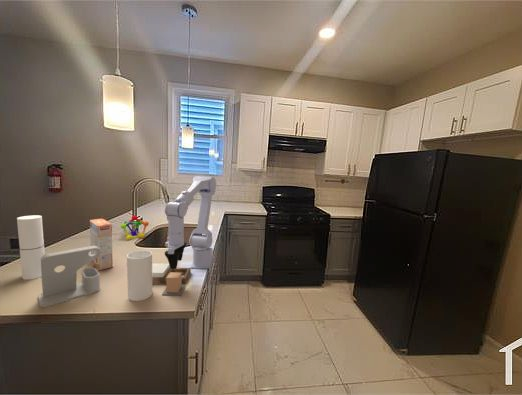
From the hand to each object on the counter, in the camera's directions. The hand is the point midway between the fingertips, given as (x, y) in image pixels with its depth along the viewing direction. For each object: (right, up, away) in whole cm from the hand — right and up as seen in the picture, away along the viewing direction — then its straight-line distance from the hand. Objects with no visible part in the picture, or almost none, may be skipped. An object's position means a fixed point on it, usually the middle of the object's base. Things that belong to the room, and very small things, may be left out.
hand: (176, 264), depth 94 cm
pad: (0, -10, -2) cm, 10 cm away
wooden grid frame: (-7, -8, +7) cm, 13 cm away
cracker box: (-42, -5, +17) cm, 45 cm away
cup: (-11, -10, -6) cm, 16 cm away
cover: (-11, -5, +6) cm, 14 cm away
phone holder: (-36, -9, -8) cm, 38 cm away
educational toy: (-49, +1, +57) cm, 75 cm away
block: (0, -9, -2) cm, 10 cm away
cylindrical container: (-61, -6, +3) cm, 61 cm away
